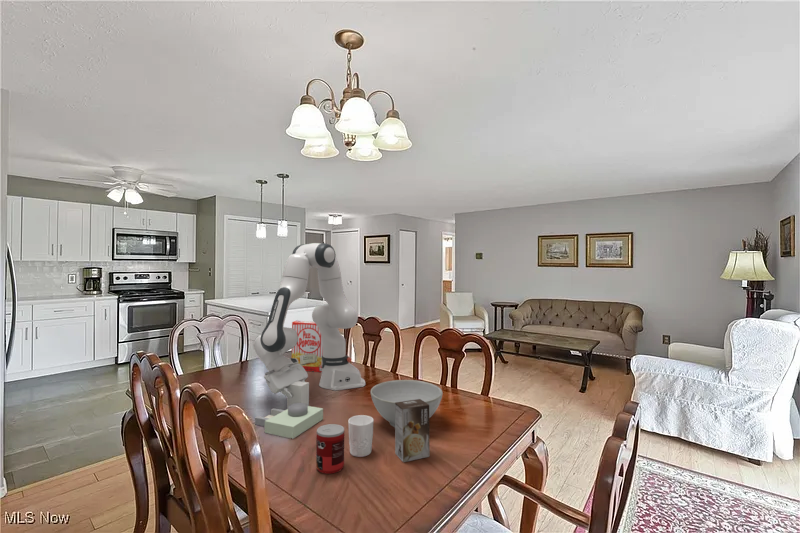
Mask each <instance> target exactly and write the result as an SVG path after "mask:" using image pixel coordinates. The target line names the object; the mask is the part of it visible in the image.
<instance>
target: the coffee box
mask: <svg viewBox="0 0 800 533" xmlns="http://www.w3.org/2000/svg"><path fill="white" fill-rule="evenodd" d="M394 430H395V432H394V434H395V435H394V437H395V438H394V441H395V442H394V443H395V444H394V452H395V455H396V456H397V457H398V459H400V461H401V462H402V463H406V462H411V461H412V462H413V461H416V460H420V459H424V458H429V457H430V452H431V451H430V447H431V446H430V418H429V404H427V403H426V402H424V401H422V400H421V399H416V400H409V401H402V402H395V427H394Z"/></svg>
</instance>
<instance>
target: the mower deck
mask: <svg viewBox="0 0 800 533" xmlns="http://www.w3.org/2000/svg"><path fill="white" fill-rule="evenodd" d="M323 419H324V408H322V407H318V406H311V405H309V406H308V405H307V404H305V403H294V404H291V405H289V406H288V409H287V408H286V409H285V410H284V409H281V408H275V407H273V408H272V409H271V410H270V414H268V415H267V416H265V417H264V416H261V415H260V416H259V415H257V416H256V417H254V424H255V425H256V426H261V427H264V433H265V434H269V435H273V436H278V437H282V438H287V439H291V438H292V439H295V438H296V437H298V436H299V435H301V434H303V433H304V432H306V431H307V430H308V429H310V428H312V427H313V426H315V425H316V424H317V423H319V422H321V421H323ZM292 439H291V440H292Z"/></svg>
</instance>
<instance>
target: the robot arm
mask: <svg viewBox="0 0 800 533" xmlns="http://www.w3.org/2000/svg"><path fill="white" fill-rule="evenodd" d="M311 268H316V271H317V282H318V289H319V295H320V296H321V297H322V298H323V299H324V300H325V301H326V304H320V305H316V306H315V307H314V308H313V310H312V313H311V319H312V322H315V323H316V325H317V326H318V328H319V330H320V333H321V336H322V342H323V356H322V360H321V366H322V372H321V374H320V380H319V384H318V386H319V387H320V388H322V389H327V390H332V391H342V390H348V389H349V390H350V389H356V388H362V387H363V388H364V387H365V386H366V380H365V379H364V378H363V377H362V374H361V371H360V370H359V368H357V367H356V366H355V365H353V364H352V363H351V362H352V358H351V357H350V356H349V355H347V354H346V346H347V344H346V338H345V337H344V336H343V335H342V334H341V332H340V330H339V329H341V330H345V329H351V328H354V327H355V326H356V324H357V322H358V319H359V317H358V316H359V315H358V312H357V310H356V309H355V307H353V306H352V305H351V304H350V302H349V301H348V299H347V297H346V294H345V292H344V288H343V287H344V286H343V282H342V274H341V272H342V271H341V268H340V265H339V261H338V259H337V255H336V251H335V249H334V247H333V245H331V244H329V243H324V242H322V243H320V242H313V243H311V242H310V243H306V244H304V243H303V244H299V245H297V246H296V247H294V249H293V251H292V253H291V254H290V255H289V256H288V257H287V259H286V262H285V265H284V267H283V271H282V275H281V279H280V280H281V281H280V285H279V286H278V289H277V292H276V294H275V296H274V299H273V302H272V305H271V308H270V309H271V310H270V312H269V313H270V314H269V315H268V320H267V323H266V325H265V327H264V329H263V330H262V332H261V334H259V335H258V336H257V337H256V338H255V339H254V340H253V343H252V347H253V350H254V353H255V354H256V356H257V357H258V359H259V360H260V361H261V363H263V364H264V366H265V368H266V370H267V371H266V372H265V373H264V376H263V378H264V380H265V382H266V384H267V387H268V388H269V390H270V391H271V393H272V394H274V395H275V394H278V393H281V394H282V395H284V396H285V397H286V398H287V397H288V399H291V398H292V397H293V396H294V395H293V394H292V392H291V393H290V392H288V391H287V386H289V385H291V384H293V383H295V382H297V381H301V382H306V381H305V380H307V378H309V374H308V371H305V369H304V368H303V367H302V365H300V364H299V363H298V362H299V361H298V360H297V359H296V358H291V357H287V356H286V355H285V353H287V352H289V351H290V350H292V348H293V347H294V346H295V345H296V344H297V341H298V335H297V333H296V331H295V330H294V329H292V327H286V326H284V325H285V320H286V318H287V314H288V309H289V307H290V305H291V304H293V302H295V301H297V300H299V299H300V298H302V297H303V296H304V295H305V293H306V291H307V287H308V283H309V277H310V276H309V275H310V270H311Z"/></svg>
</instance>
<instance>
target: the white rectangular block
mask: <svg viewBox="0 0 800 533" xmlns="http://www.w3.org/2000/svg"><path fill="white" fill-rule="evenodd" d="M287 391H288V392H290V393H291V392H292V394H293V395H294V396H293V397H292V398H291V399H288V397H287V396H286V410H287V409H288V406H289V405H291V404H294V403H305V404H307V405H308V406H310V403H309V402H310V382H307V381H305V382H301V381H297V382H295V383H293V384H291V385H289V386H287Z"/></svg>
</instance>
